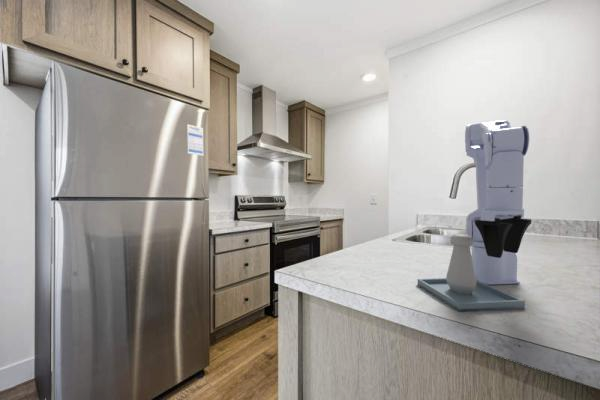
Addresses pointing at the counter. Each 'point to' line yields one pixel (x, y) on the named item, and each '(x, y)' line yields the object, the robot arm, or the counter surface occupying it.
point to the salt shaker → (461, 266)
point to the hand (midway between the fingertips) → (502, 254)
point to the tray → (471, 296)
